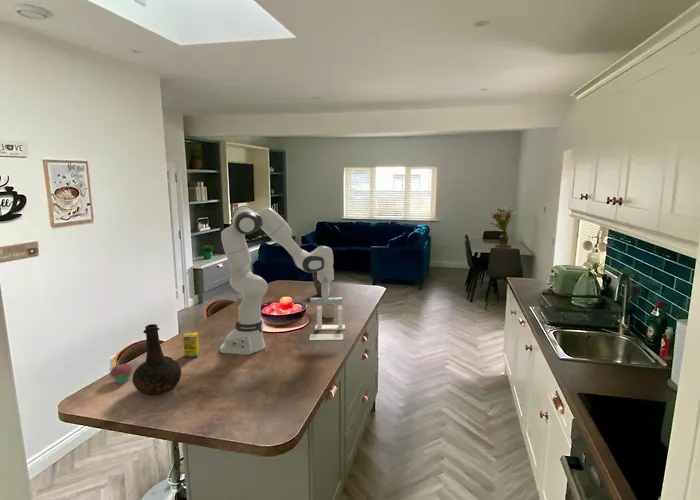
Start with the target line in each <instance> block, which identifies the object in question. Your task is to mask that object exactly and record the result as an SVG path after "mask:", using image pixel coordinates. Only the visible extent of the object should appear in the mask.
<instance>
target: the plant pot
mask: <svg viewBox="0 0 700 500" xmlns="http://www.w3.org/2000/svg"><path fill="white" fill-rule="evenodd" d="M311 274H312V281H313V284H314V288H315V291H316V294H317V296H319V297H322V294H321V285H322V284H321V283H320V281H318V280H317V272H313V273H311ZM331 286H332V282H331V283H330V287H331Z"/></svg>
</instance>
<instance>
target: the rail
mask: <svg viewBox="0 0 700 500" xmlns="http://www.w3.org/2000/svg"><path fill="white" fill-rule="evenodd" d="M309 301H310V302H309V303H310V306H322V305H335V306H337V305H338V306H342V305H343V297H336V296H335V297H329V298H328V303H324V298H322V297H310V299H309Z"/></svg>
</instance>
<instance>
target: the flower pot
mask: <svg viewBox="0 0 700 500" xmlns="http://www.w3.org/2000/svg"><path fill="white" fill-rule="evenodd" d="M321 306H322V312H323V318H325V319H328V318H329V319H331V318H334V317H335V309H336V305H321Z"/></svg>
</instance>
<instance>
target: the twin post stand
mask: <svg viewBox="0 0 700 500" xmlns="http://www.w3.org/2000/svg"><path fill="white" fill-rule="evenodd" d="M337 309H338V310H337V315H338V316H337V318H338V319H337V320H338V321H337V322H338V323H337V324H323V320H322V319H323V317H322V316H323V314H322V312H323V307H322V305H316V316H317V317H316V320H317V321H316V322H317V324H315V327H314V331H343V330H346V325H345V324H344V323H343V320H344V319H343V306H342V305H338V306H337Z"/></svg>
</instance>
